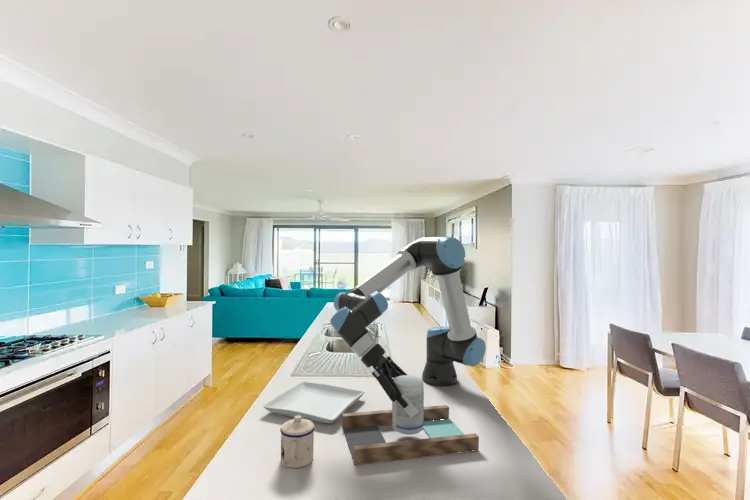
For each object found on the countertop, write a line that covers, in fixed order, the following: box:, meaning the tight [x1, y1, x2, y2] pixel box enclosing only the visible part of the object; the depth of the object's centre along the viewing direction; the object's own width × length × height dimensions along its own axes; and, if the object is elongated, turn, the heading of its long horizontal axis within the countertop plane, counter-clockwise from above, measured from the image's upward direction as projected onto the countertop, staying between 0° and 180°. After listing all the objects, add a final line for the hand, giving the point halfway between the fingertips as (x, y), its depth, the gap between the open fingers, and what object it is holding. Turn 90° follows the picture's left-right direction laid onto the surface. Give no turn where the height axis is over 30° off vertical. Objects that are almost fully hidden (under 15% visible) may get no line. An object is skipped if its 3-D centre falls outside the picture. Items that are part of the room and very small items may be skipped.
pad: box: [422, 418, 465, 438], centre depth 119 cm, size 11×17×1 cm, turn 13°
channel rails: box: [341, 404, 480, 466], centre depth 117 cm, size 36×22×4 cm, turn 103°
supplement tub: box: [391, 374, 425, 435], centre depth 117 cm, size 10×10×15 cm
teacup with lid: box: [279, 415, 316, 469], centre depth 102 cm, size 12×9×12 cm
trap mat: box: [342, 426, 387, 460], centre depth 114 cm, size 11×17×1 cm, turn 13°
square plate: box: [262, 381, 365, 424], centre depth 138 cm, size 27×27×4 cm
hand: (418, 407), depth 116 cm, fingers closed on supplement tub, 9 cm apart
